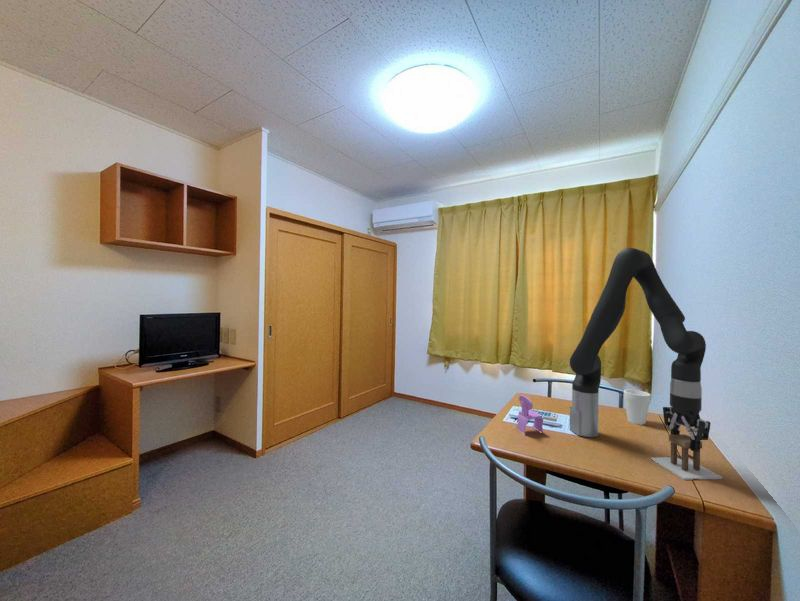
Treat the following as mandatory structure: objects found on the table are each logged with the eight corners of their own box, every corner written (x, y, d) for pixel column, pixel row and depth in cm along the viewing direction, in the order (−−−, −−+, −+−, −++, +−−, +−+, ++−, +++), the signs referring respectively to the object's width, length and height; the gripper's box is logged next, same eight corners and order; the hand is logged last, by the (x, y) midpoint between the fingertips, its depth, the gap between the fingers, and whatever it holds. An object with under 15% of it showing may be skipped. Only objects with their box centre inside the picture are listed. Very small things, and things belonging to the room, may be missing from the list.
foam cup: (655, 426, 135) (656, 395, 135) (635, 426, 134) (635, 396, 134) (637, 417, 144) (637, 389, 144) (618, 418, 144) (618, 389, 144)
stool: (702, 470, 98) (702, 442, 98) (684, 471, 98) (685, 442, 98) (685, 461, 104) (685, 434, 104) (668, 462, 104) (668, 434, 104)
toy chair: (545, 434, 126) (545, 397, 126) (526, 437, 124) (526, 399, 124) (532, 426, 134) (532, 391, 134) (513, 428, 132) (514, 392, 132)
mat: (684, 479, 95) (684, 477, 95) (650, 459, 107) (650, 457, 107) (722, 478, 95) (722, 476, 95) (684, 458, 107) (684, 456, 107)
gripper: (720, 400, 94) (719, 457, 94) (675, 387, 108) (675, 435, 108) (696, 401, 94) (695, 457, 94) (654, 387, 108) (654, 436, 108)
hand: (684, 445), depth 101 cm, fingers open, 6 cm apart
